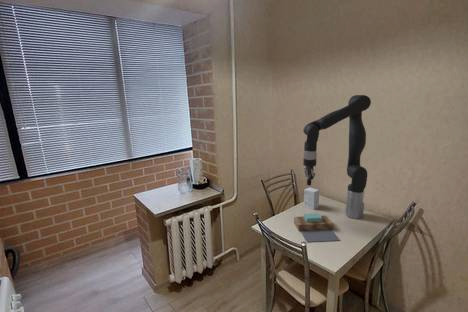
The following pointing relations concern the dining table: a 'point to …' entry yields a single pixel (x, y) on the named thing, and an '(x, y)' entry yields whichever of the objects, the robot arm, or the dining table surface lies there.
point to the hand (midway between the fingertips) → (308, 184)
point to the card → (313, 217)
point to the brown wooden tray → (313, 224)
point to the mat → (319, 236)
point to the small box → (311, 198)
